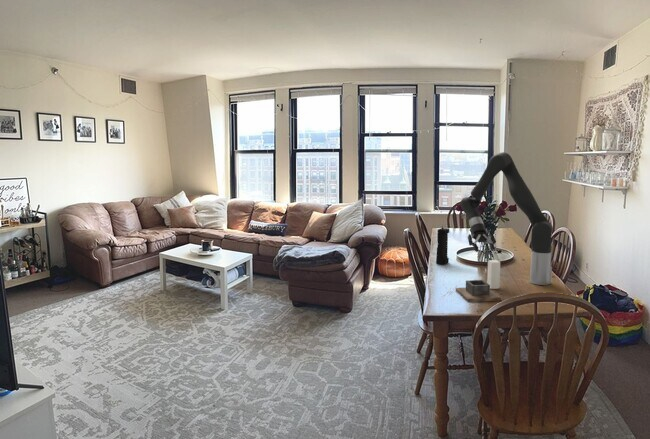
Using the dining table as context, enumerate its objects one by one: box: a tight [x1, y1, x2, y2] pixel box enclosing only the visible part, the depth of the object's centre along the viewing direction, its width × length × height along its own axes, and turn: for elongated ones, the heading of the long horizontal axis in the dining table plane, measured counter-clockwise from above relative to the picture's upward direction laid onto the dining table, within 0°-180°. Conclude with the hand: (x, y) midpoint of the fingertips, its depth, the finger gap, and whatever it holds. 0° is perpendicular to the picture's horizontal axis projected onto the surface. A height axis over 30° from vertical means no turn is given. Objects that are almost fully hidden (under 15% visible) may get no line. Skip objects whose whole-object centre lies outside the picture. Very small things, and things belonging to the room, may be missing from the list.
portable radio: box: [435, 225, 450, 266], centre depth 259 cm, size 8×6×25 cm
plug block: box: [486, 259, 501, 290], centre depth 211 cm, size 4×4×14 cm
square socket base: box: [455, 279, 502, 303], centre depth 201 cm, size 16×16×6 cm
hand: (485, 250), depth 221 cm, fingers open, 8 cm apart
